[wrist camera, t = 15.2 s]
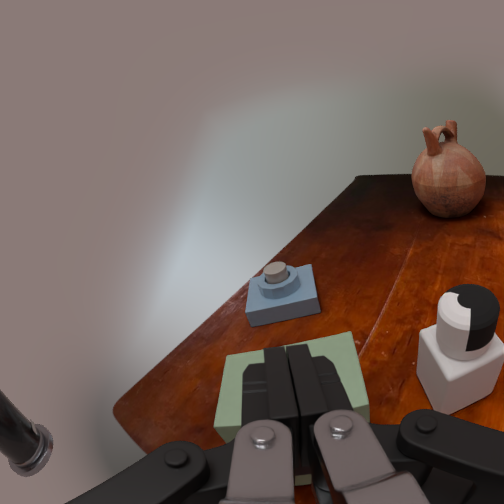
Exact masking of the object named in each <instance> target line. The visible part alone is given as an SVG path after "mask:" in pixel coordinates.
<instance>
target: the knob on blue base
mask: <svg viewBox="0 0 504 504" xmlns="http://www.w3.org/2000/svg"><path fill="white" fill-rule="evenodd" d="M286 267H287V271H288V274H289V277H288V279H287V280H285V281H283V282H281V283H278V284H268V283H267V280H266V277H265V275H264V273H262V274H261V276H259V277H254V278H250V284H249V291H248V298H247V305H246V311H245V313H246V316H247V318H248V321H249V323H250V325H251V327H254V326H260V325H265V324H270V323H275V322H279V321H284V320H289V319H294V318H298V317H303V316H307V315H312V314H316V313H320V312H321V310H320V305H319V299H318V294H317V289H316V284H315V278H314V274H313V270H312V266H311V264H309V265H305V266H301V267H297V268H294V267H292V266H286Z"/></svg>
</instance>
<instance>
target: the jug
mask: <svg viewBox="0 0 504 504" xmlns="http://www.w3.org/2000/svg"><path fill="white" fill-rule="evenodd" d="M423 133H424V137H425V141H426V145H427V148H426V149H425V150H424V151H423V152H421V154H420V155H419V156H418V158H417V160H416V162H415V164H414V167H413V170H412V183H413V187H414V190H415V193H416V195H417V196H418V198H419V200H420V201H421V202H422V204H423V205H424V206H425V207H426V208H427V209H428V211H429V212H430V213H432V214H433V215H435V216H438V217H444V218H454V217H460V216H464V215H466V214H468V213H470V212H471V211H472V210H473V209H474V208H475V206H476V205H477V204H478V202H479V201H480V200H481V198H482V196H483V194H484V189H485V180H486V177H485V172H484V169H483V167H482V165H481V164H480V162H479V161H478V160H477V158H476V157H475V156H474V155H473V154H472V153H471V152H470V151H468V150H467V149H466V148H464V147H463V146H461V145H459V144H458V143H457V123H456V122H455V121H452V120H447V121H446V127H445V126H437V127H435V128H434V129H433V130H432V131H431V130H430V129H429V128H427V127H425V128H423ZM441 133H443V134H444V136H445V141H444V142H440V143H439V142H438V141H439V137H440V135H441Z"/></svg>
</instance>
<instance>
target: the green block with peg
mask: <svg viewBox="0 0 504 504" xmlns="http://www.w3.org/2000/svg"><path fill="white" fill-rule="evenodd" d="M306 343H307V345H308V347H309V350H310V353H311V356H312V357H315V356H322V355H324V356H325V357H327V358H328V359H329V360H330V361H332V362H333V363H334V365H335V368H336V370H337V374H338V375H339V377H340V379H341V382H342V384H343V386H344V388H345V391H346V393H347V395H348V398H349V400H350V402H351V405H352V407H353V409H354V411H355V412H357V413H359V414H361V415H362V416H363V417H364V418H365V419H366V420H367V422H369V423H370V414H369V401H368V397H367V393H366V388H365V384H364V380H363V376H362V372H361V368H360V364H359V360H358V356H357V352H356V348H355V344H354V340H353V337H352V333H351V331H349V332H345V333H341V334H337V335H333V336H328V337H324V338H319V339H315V340H310V341H305V342H301V343H296V344H291V345H298V344H306ZM286 346H290V345H286ZM286 346H284V347H285V352H286ZM281 347H282V346H281ZM254 363H264V352H263V350H259V351H253V352H247V353H241V354H234V355H228V356H227V357H226V363H225V368H224V373H223V379H222V384H221V389H220V395H219V400H218V405H217V411H216V416H215V422H214V428H215V429H216V431H217V432H218V433H219V434H220V436H221V437H222V438H223V439H224V441H225V442H226V443H229V442H230V441H232V440H233V439H234V438H235V437H236V434H237V432H238V431H239V430H240V429H241V411H242V373H243V372H244V370H245V369H246V367H247V366H248V364H254ZM311 477H312V476H311V474H307V475H299V476H295V486H297V485H306V484H311Z"/></svg>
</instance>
